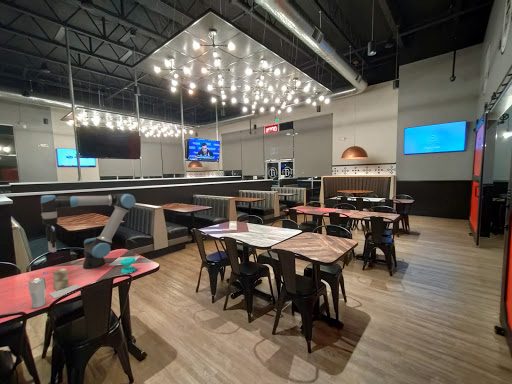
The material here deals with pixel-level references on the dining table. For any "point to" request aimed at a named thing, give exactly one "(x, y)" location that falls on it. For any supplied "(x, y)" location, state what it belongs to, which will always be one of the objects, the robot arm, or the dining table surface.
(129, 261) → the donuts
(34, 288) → the beer glass
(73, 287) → the grey mat
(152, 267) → the dining table surface
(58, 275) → the maple block
